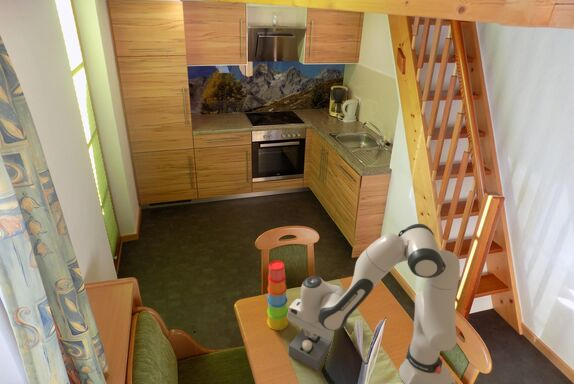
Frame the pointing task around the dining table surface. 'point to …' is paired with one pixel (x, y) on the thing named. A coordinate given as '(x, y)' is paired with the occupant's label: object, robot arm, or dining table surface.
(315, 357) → the console
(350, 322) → the dining table surface
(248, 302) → the dining table surface
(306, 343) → the knob
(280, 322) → the stacking cups
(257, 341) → the dining table surface
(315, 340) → the knob mid
